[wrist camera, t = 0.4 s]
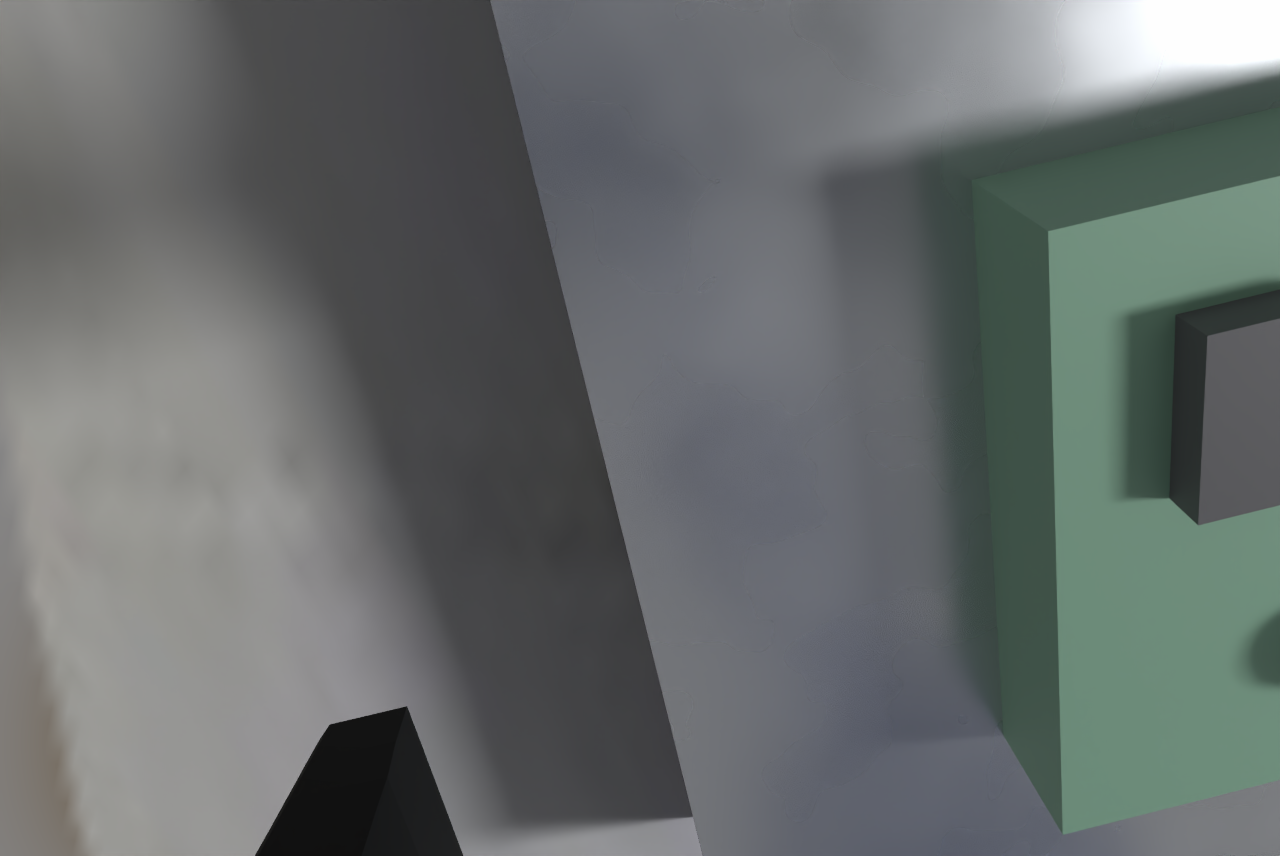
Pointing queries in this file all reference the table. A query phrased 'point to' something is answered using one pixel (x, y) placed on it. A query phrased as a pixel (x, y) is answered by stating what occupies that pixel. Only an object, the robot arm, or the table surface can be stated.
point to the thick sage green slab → (1136, 466)
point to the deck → (836, 376)
